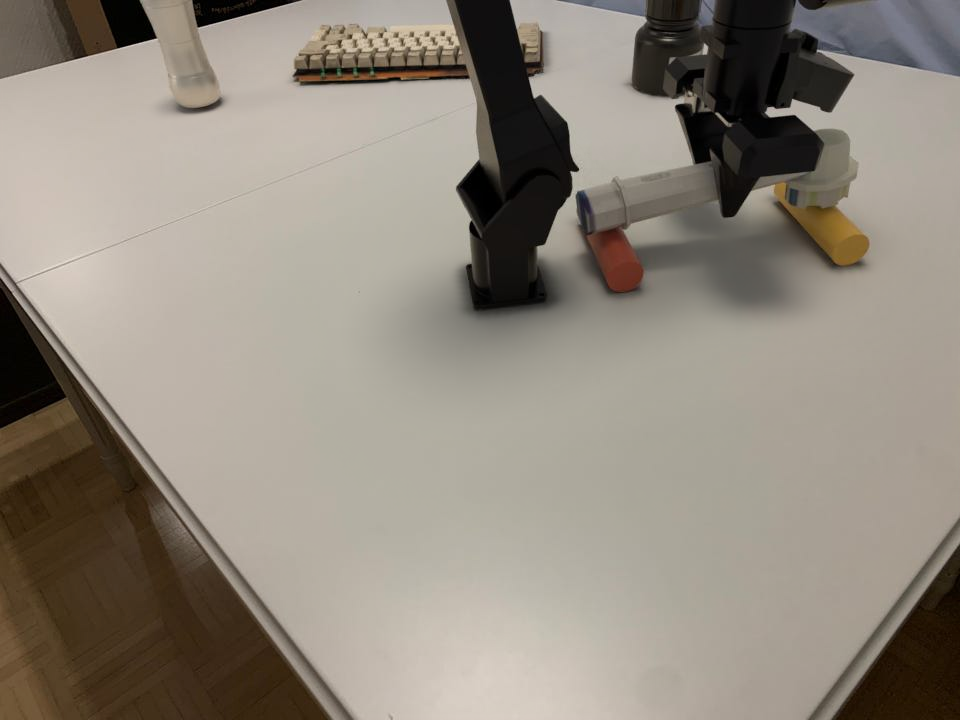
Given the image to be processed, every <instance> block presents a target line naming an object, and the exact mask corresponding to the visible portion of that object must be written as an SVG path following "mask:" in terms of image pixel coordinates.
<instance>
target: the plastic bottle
mask: <svg viewBox="0 0 960 720" xmlns="http://www.w3.org/2000/svg"><path fill="white" fill-rule="evenodd" d="M139 2H140V4H141V6H142V8H143V10H144V12H145V14H146V16H147V19H148V20H149V23H150V24H151V26H152V29H153V32H154V34H155V37H156V38H157V42H158V44H159V47H160V49H161V53H162V56H163V61H164V65H165V68H166V72H167V80H168V85H169V89H170V92H171V94H172V96H173V98H174V99H175V101H176V103H178V104H179V105H180V106H182V107H184V108H187V109H198V108H203V107H207V106H210V105H213V104H215V103H216V102H218V100H219V98H220V95H221V88H220V82H219V79H218V77H217V74H216V72H215V70H214V68H213V67H212V66H211V63H210V60H209V58H208V55H207V53H206V50H205V47H204V45H203V43H202V40H201V36H200V33H199V28H198V24H197V20H196V16H195V15H196V14H195V10H194V9H195V8H194V4H193V0H139Z"/></svg>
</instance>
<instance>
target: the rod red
mask: <svg viewBox="0 0 960 720" xmlns="http://www.w3.org/2000/svg"><path fill="white" fill-rule="evenodd" d="M575 209H576V211H575V213H576V215H577V218H578V220H579V221H580V219H579V216H578V212H577V208H575ZM586 238H587V240H588V243H589V245H590V247H591V249H592V251H593V254H594V256H595V258H596V261H597V262H598V263H597V264H598V265H599V267H600V269H601V273H602V274H603V277H604V279H605V281H606V283H607V286H608V287H609V289H611V290H612V291H615V292H617V293H624V292H629V291H631V290H634V289H635V288H637V287H638V286H639V285H640V284H641V282H642V281H643V279H644V275H645V274H644V273H645V271H644V267H643V266H642V264H641V262H640V260H639V258H638V256H637V255H636V253H635V251H634V249H633V247H632V245H631V243H630V241H629V239H628V237H627V235H626V233H625V230H623V229H622V227H617V228H613V229H610V230H606V231H602V232H598V233H595V234H591V235H587V236H586Z"/></svg>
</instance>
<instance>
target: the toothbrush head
mask: <svg viewBox="0 0 960 720" xmlns="http://www.w3.org/2000/svg"><path fill="white" fill-rule="evenodd" d="M813 131H814V132H815V133H816V134H817V135H818V136H819V137H820V139H821V140H822V141H823V142H824V148H823V151H822V155H821V159H820V162H819V166H818V168H817V169H816V170H815V171H812V172H803V173H794V174H785V175H776V176H767V177H760V178H759V180H758V181H757V183H756V184H755V186H754V187H753V189H752V190H751V192H753V191H756V190H760V189H763V188H768V187H771V186H775V184H779V183H783V182H784V183H785V184H786V192H785V200H786V201H787V202H788V203H789V204H790V205H792V206H796V207H799V208H803V209H805V208H806V207H807V206H820V207H821V208H822V209H823V208H826V207H830V206H834V205H835V206H838V204H839V202H840V201H841V200H843V199H844V198H847V199H848V198H849V193H850V192H849V191H850V187H851V183H852V182H853V181H855V180H856V179H857V177H858V171H859V166H860V165H859V164H860V163H859V162H858V161H857V160H856V159H855V158H854V157H852V156H851V155H850V153H851V139H850V136H849V134H848V133H847V132H846V131H844V130H843V129H838V128H833V127H832V128H820V129H815V130H813ZM716 201H718V195H717V189H716V183H715V178H714V172H713V167H712V161H710V162H705V163H700V164H696V165H694V164H691V165H687V166H681V167H677V168H672V169H671V168H670V169H667V170H662V171H658V172H652V173H646V174H642V175H637V176H633V177H627V178H622V179H620V178H619V176H613V178H612V179H611V181H610V182H607V183H603V184H599V185H596V186H592V187H588V188H584V189H580V190H577V191H576V193H575V205H576V209H577V212H578V216H579V218H578V220H579V219H580V220H579V222H580V227H581V228H582V230H583V232H584V234H585V236H586V237H587V235H591V234H595V233H598V232H602V231H606V230H610V229H613V228H617V227H622V229H623V231H626V230H628V229H629V227H630V226H631V225H632V224H636V223H639V222H643V221H646V220H650V219H653V218H657V217H661V216H664V215H669V214H672V213H675V212H679V211H682V210H687V209H691V208H694V207H697V206H702V205H705V204H709V203H714V202H716ZM577 212H576V213H577ZM578 216H577V217H578Z"/></svg>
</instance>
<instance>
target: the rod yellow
mask: <svg viewBox="0 0 960 720" xmlns="http://www.w3.org/2000/svg"><path fill="white" fill-rule="evenodd" d="M785 192H786V184H785V183H784V182H783V183H779V184H775V185H774V187H773V194H774V196H775V198H776V199H777V200H778V201H779V202H780V203H781V204H782V205H783V206H784V208H785V209H786V210H787V211H788V212H789V213H790V215H791V216H792V217H793V218H794V219H795V221H797V222H798V223H799V224H800V226H801V227H802V228H803V229H804V230H805V231H806V232H807V233H808V235H809V236H811V238H812V239H813V240H814V241H815V243H817V245H818V246H819V247H820V248H822V250H823V251H824V252H825V253H826V254H827V256H828V257H829V258H830V259H831V260H832V262H833V263H835V264H836V265H838V266H849V265H853V264H855V263H857V262H859V260H861V259H862V258H863V257H864V256H865V255H866V254H867V252H868V251H869V248H870V240H869V238H868V236H867V235H866V234H865V233H864V232H863V231H861V229H860V228H859V227H857V225H856V224H855V223H854V222H853V221H852V220H851V219H850V218H848V216H847V215H845V214H844V213H843V212H842V211H841V210H840V208H838V206H837V205H834V206H830V207H826V208H823V209H822V208H821V207H820V206H807V207H806V208H805V209H803V208H799V207H796V206H792V205H790V204H789V203H788V202H787V201H786V200H785Z"/></svg>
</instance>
